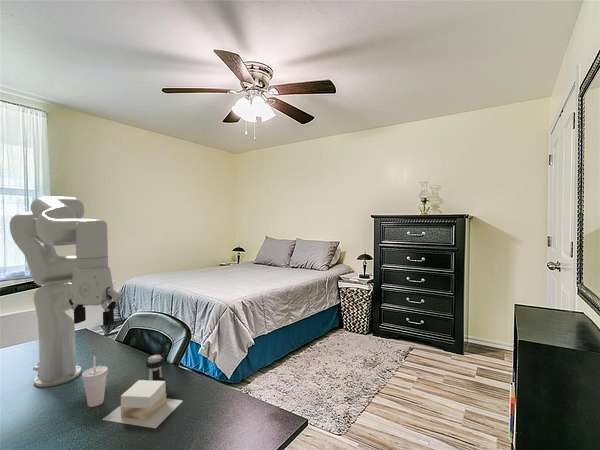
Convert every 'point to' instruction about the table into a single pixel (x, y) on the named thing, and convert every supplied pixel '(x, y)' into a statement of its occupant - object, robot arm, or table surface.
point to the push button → (155, 367)
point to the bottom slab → (143, 410)
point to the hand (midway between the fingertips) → (94, 323)
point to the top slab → (143, 394)
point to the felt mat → (151, 423)
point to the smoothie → (95, 383)
